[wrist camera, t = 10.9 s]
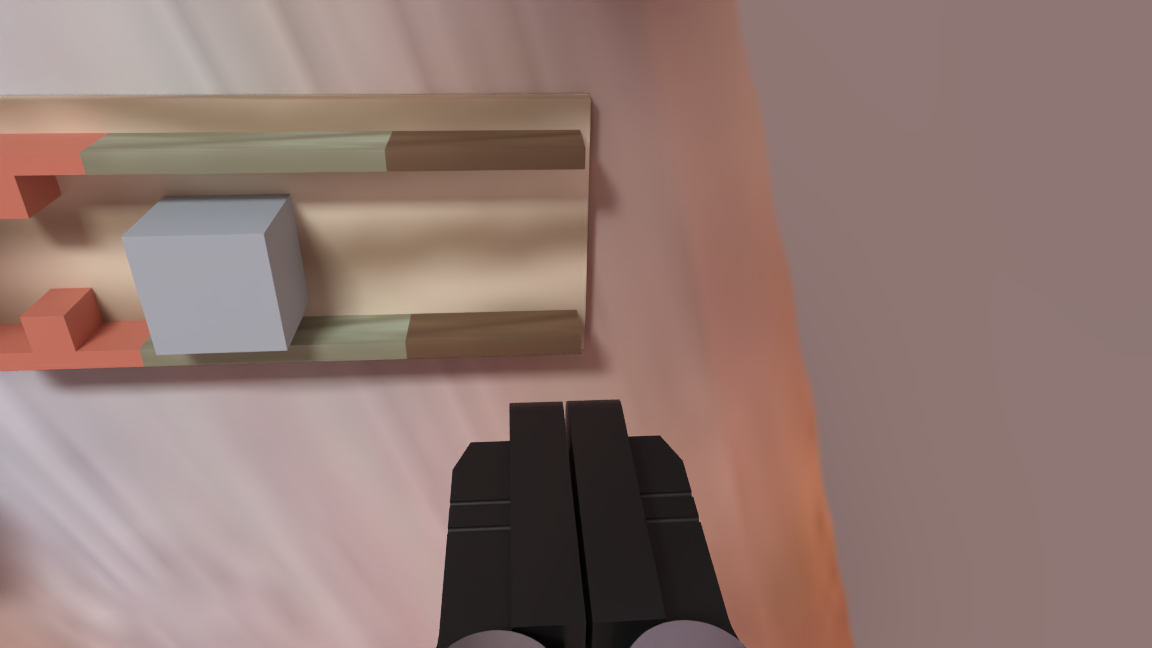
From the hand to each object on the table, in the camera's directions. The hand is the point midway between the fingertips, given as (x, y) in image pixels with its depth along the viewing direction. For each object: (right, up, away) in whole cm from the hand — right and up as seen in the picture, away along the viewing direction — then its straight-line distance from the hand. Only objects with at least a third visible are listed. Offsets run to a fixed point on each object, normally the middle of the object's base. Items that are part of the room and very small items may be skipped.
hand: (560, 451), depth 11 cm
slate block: (-17, +5, +29) cm, 34 cm away
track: (-15, +7, +30) cm, 34 cm away
